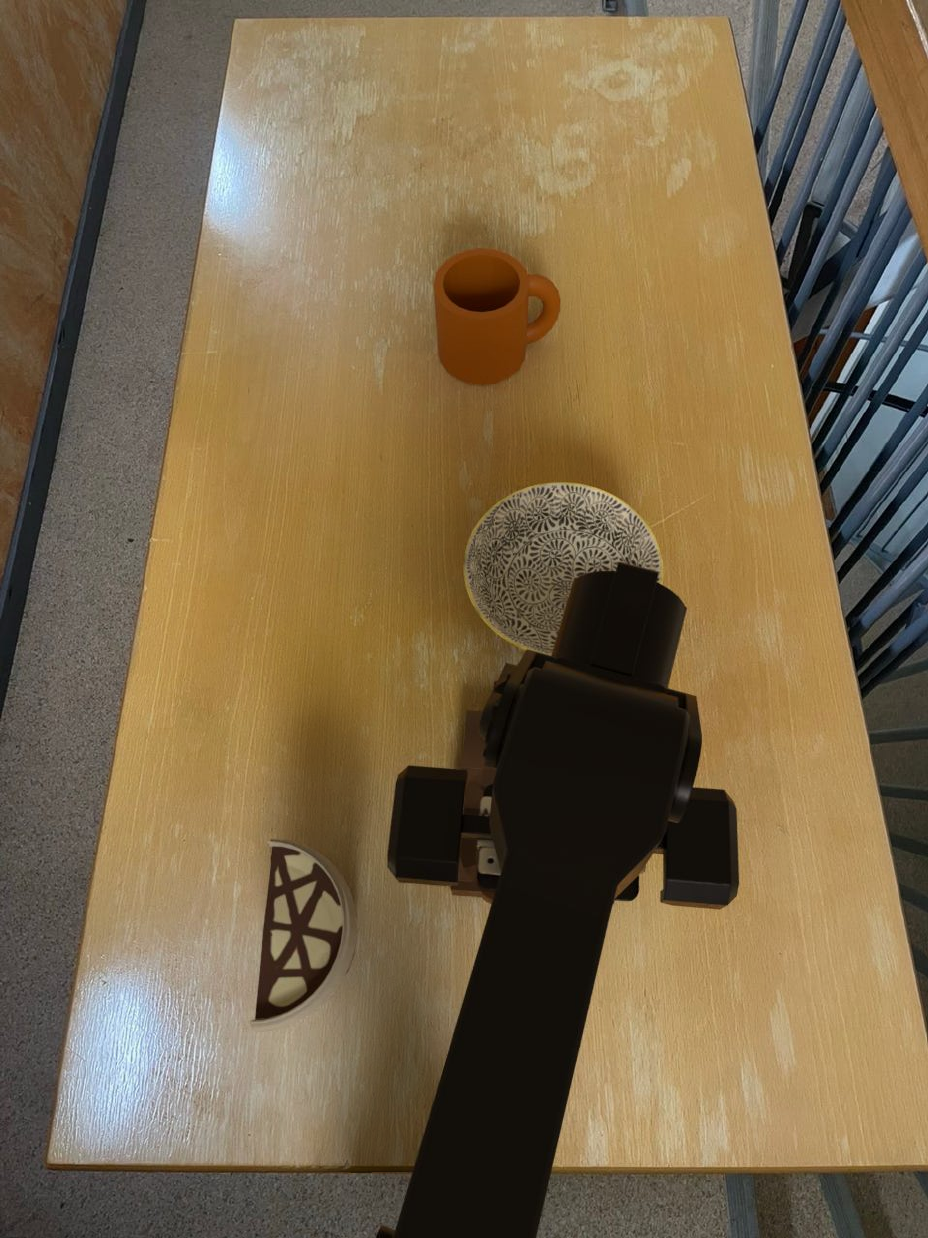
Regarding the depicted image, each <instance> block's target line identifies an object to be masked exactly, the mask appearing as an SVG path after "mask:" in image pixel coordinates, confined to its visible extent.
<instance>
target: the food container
mask: <svg viewBox="0 0 928 1238" xmlns="http://www.w3.org/2000/svg"><path fill="white" fill-rule="evenodd" d="M267 844H268V845H269V846H270V849H271V853H270V859H269V860H270V866H269V876H268V884H267V894H266V904H265V912H264V917H263V918H264V919H263V925H262V936H261V938H262V939H261V951H260V963H259V974H258V982H257V983H258V985H257V992H256V993H257V995H256V1005H255V1014H254V1019H252V1020H250V1021H248V1024H250V1028H251V1029H252V1031H253V1032H254V1033H255V1034H258V1033H259V1034H260V1033H270V1032H271V1033H272V1032H274V1031H278V1030H283V1029H286V1028H289V1027H291V1026H294V1025H295V1024H298V1023H300V1022H301V1021H304V1020H305V1019H307V1018H308V1017H310V1016H312V1015H313V1014H314V1013H315V1012H316V1011H318V1010H319V1009H320V1008H322V1006H324V1005H325V1004H326V1003H327V1002H328V1001H329V999H330V998H331V997H332V996H333V995H334V993H335V992H336V991H337V989H338V988H339V987H340V985H341V984H342V982H343V981H344V979H345V977H346V976H347V974H348V973H349V971H350V968H351V965H352V962H353V958H354V955H355V950H356V945H357V936H358V917H357V910H356V904H355V901H354V898H353V895H352V893H351V890H350V888H349V887H350V886H349V885H348V883H347V881H346V880H345V878H344V876H343V875H342V874H341V872H340V871H339V870H338V868H337V866H336V865H334V864H333V863H332V862H331V861H330V860H329V859H328V858H327V857H325V856H324V855H323V854H321V853H320V852H318V851H316V850H315V849H314V848H311V847H309V846H307V845H305V844H303V843H301V842H294V841H292V840H289V839H288V840H287V839H278V838H274V839H273V838H270V839H269V840H267Z"/></svg>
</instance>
